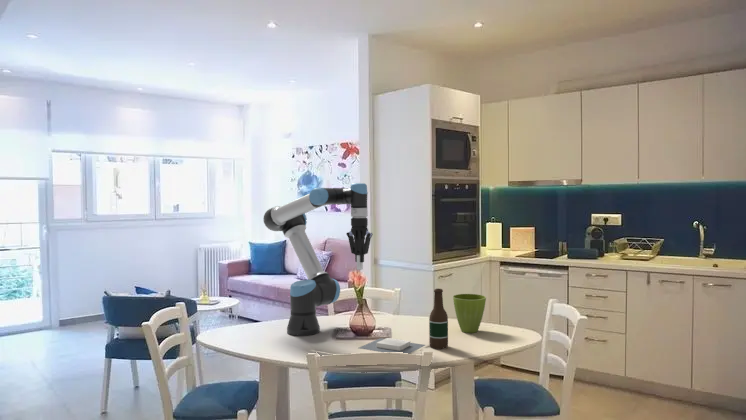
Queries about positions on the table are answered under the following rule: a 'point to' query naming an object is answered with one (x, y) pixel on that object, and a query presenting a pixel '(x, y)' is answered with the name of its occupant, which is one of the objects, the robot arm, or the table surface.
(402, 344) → the tile
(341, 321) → the table surface
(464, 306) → the flower pot
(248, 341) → the table surface
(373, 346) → the mat
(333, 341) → the table surface
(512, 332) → the table surface
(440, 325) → the beer bottle
